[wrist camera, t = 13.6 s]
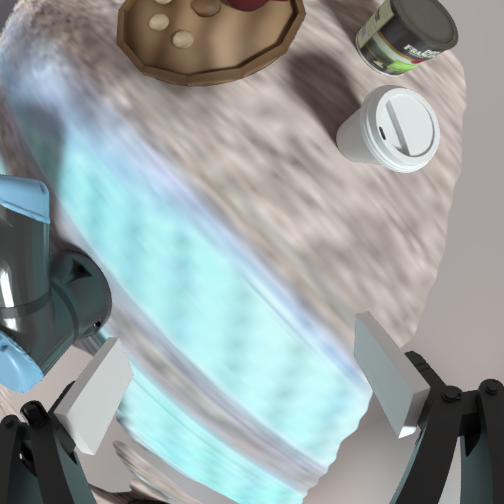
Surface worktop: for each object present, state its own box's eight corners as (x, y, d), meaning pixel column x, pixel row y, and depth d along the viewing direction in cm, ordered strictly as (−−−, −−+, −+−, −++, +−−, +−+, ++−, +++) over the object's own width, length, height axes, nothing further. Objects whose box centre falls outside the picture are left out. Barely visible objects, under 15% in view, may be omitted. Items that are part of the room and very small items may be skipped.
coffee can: (417, 78, 34) (469, 53, 20) (366, 77, 34) (411, 43, 20) (398, 27, 31) (439, -8, 18) (346, 24, 32) (379, -22, 18)
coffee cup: (324, 106, 35) (364, 71, 21) (383, 114, 36) (441, 92, 21) (325, 170, 38) (369, 167, 23) (385, 175, 38) (446, 177, 23)
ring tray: (124, 105, 35) (116, 100, 32) (128, -19, 28) (122, -27, 25) (314, 77, 34) (319, 70, 31) (283, -44, 27) (285, -53, 24)
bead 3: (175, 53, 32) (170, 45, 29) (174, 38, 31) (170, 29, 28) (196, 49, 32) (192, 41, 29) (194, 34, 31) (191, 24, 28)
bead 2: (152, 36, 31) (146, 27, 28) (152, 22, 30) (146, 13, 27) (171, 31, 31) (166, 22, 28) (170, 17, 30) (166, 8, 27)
